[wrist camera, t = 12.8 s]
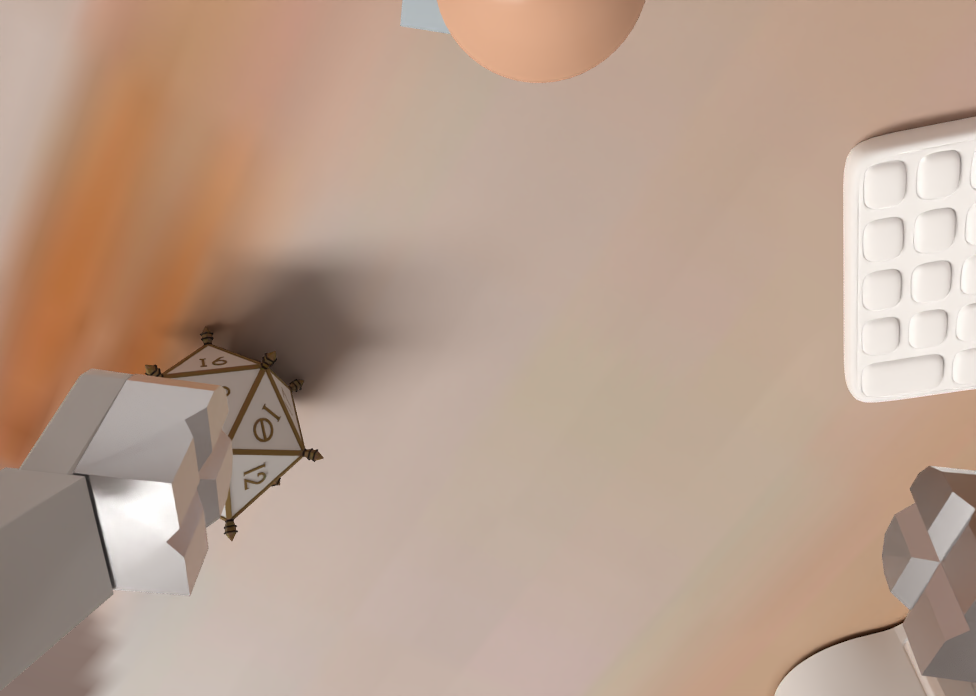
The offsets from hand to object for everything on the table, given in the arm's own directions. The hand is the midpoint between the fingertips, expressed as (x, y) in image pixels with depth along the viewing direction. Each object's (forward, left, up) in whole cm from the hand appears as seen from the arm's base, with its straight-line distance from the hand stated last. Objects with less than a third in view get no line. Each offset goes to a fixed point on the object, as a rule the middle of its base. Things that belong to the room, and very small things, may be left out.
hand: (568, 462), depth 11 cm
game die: (+12, +22, -25) cm, 35 cm away
